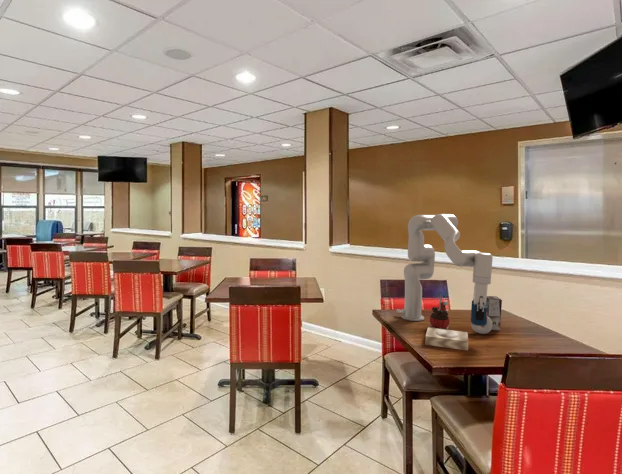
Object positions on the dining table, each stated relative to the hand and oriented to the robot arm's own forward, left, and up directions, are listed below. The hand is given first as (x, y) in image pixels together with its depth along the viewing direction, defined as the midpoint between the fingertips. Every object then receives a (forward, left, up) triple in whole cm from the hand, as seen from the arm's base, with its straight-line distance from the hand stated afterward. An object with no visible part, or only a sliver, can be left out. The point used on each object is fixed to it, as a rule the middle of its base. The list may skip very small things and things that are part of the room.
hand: (478, 317), depth 169 cm
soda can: (0, 0, -4) cm, 4 cm away
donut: (+3, +17, -13) cm, 21 cm away
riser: (-13, -4, -12) cm, 19 cm away
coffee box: (+9, +31, -13) cm, 34 cm away
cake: (-17, +16, -13) cm, 27 cm away
